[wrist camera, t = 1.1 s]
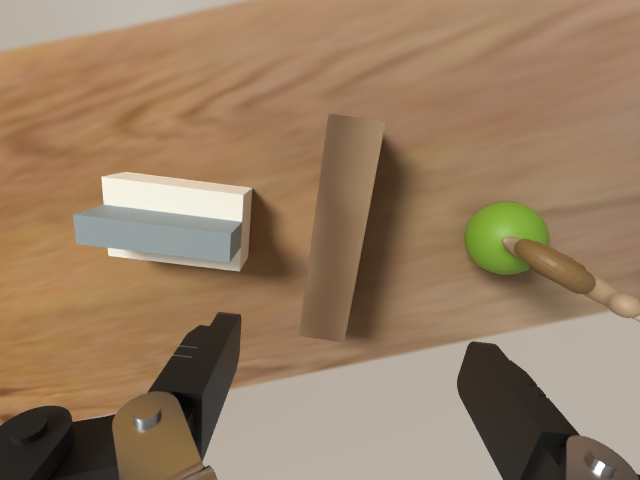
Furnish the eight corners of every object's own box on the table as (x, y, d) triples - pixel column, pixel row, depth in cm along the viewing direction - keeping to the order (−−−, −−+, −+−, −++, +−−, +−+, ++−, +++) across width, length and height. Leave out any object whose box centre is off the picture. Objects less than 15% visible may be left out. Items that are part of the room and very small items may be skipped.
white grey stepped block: (252, 188, 26) (231, 203, 20) (248, 257, 27) (228, 289, 22) (126, 171, 25) (69, 183, 20) (131, 242, 27) (80, 271, 21)
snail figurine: (503, 273, 28) (628, 370, 16) (440, 241, 27) (527, 321, 15) (543, 219, 26) (714, 285, 15) (478, 184, 25) (605, 225, 14)
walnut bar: (373, 124, 24) (385, 121, 19) (341, 307, 29) (344, 341, 24) (327, 117, 24) (328, 113, 19) (303, 303, 29) (299, 336, 24)
